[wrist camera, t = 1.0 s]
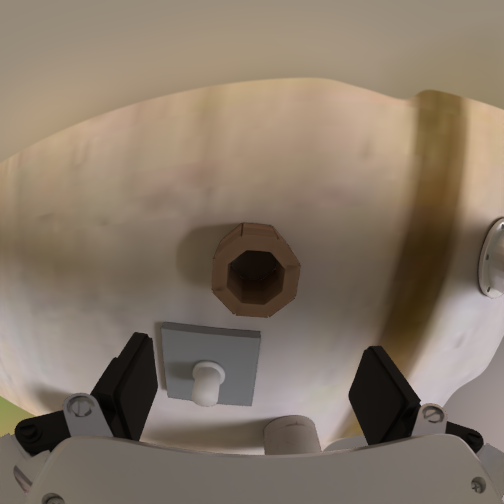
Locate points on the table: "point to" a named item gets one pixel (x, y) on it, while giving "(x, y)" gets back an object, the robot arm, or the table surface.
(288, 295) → the walnut ring
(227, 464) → the robot arm
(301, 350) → the table surface
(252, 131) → the table surface
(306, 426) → the thermos bottle
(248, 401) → the post stand
